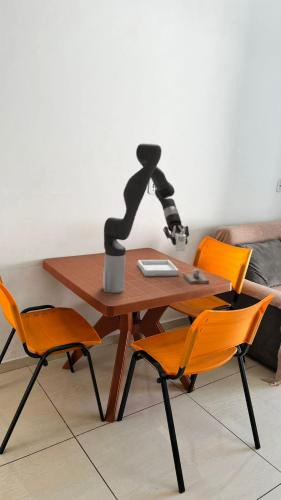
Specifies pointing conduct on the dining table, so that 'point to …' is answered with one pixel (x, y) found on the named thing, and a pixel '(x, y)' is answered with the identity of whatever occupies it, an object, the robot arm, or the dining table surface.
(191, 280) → the stake base
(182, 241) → the sleeve
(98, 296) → the dining table surface
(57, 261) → the dining table surface
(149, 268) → the tray
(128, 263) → the dining table surface
